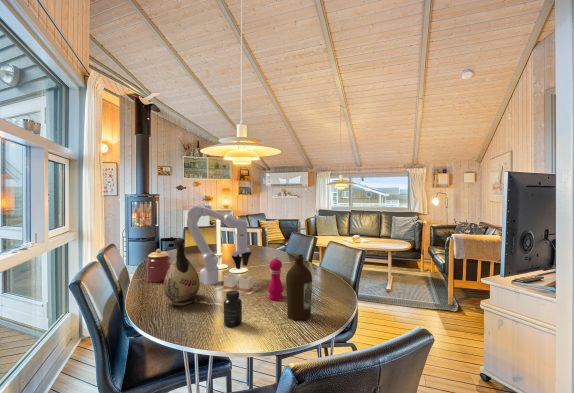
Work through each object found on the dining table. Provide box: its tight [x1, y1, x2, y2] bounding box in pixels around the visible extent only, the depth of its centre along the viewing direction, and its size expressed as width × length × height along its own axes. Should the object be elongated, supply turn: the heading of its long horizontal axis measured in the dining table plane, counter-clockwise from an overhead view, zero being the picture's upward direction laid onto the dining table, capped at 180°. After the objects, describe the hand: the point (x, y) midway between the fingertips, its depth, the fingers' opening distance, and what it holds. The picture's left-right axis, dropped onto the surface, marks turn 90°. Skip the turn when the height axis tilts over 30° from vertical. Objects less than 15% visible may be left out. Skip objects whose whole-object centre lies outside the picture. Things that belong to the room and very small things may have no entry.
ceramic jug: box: [163, 237, 201, 306], centre depth 133 cm, size 17×15×30 cm
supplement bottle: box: [223, 291, 243, 328], centre depth 112 cm, size 7×7×12 cm
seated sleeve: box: [223, 273, 239, 289], centre depth 151 cm, size 5×5×6 cm
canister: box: [145, 248, 172, 283], centre depth 170 cm, size 13×13×18 cm
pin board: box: [214, 284, 261, 296], centre depth 149 cm, size 20×12×6 cm, turn 68°
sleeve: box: [238, 275, 254, 292], centre depth 147 cm, size 5×5×6 cm
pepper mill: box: [267, 256, 284, 302], centre depth 139 cm, size 7×7×20 cm
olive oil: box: [285, 253, 313, 322], centre depth 119 cm, size 11×11×25 cm
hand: (241, 267), depth 161 cm, fingers open, 7 cm apart
